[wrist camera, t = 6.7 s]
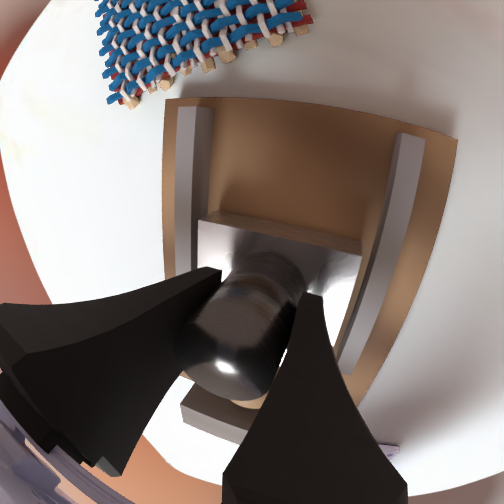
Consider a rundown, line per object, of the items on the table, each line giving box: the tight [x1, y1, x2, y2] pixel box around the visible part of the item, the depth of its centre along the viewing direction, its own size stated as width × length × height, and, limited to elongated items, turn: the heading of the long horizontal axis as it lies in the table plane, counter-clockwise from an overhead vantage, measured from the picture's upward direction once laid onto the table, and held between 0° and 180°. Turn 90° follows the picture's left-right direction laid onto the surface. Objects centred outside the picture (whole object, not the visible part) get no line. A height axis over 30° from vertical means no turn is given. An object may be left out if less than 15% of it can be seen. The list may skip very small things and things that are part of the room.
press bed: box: [162, 97, 458, 445], centre depth 11 cm, size 17×12×5 cm
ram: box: [173, 210, 362, 401], centre depth 9 cm, size 5×6×6 cm
